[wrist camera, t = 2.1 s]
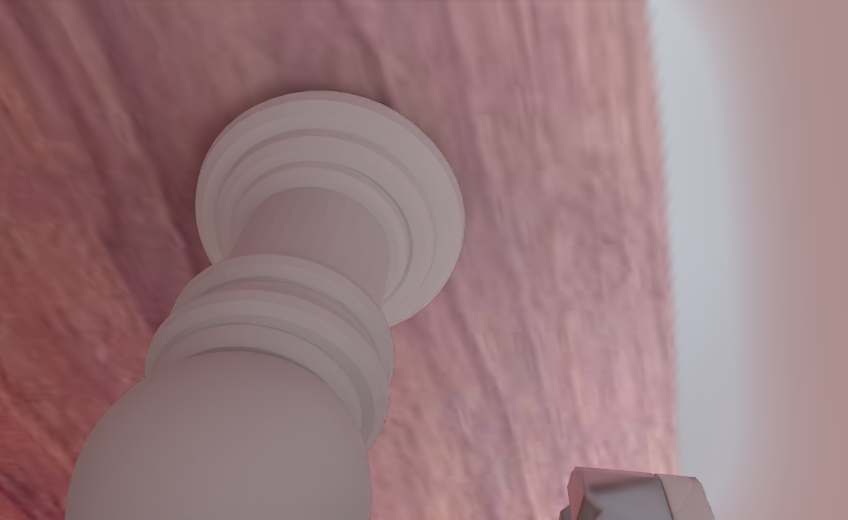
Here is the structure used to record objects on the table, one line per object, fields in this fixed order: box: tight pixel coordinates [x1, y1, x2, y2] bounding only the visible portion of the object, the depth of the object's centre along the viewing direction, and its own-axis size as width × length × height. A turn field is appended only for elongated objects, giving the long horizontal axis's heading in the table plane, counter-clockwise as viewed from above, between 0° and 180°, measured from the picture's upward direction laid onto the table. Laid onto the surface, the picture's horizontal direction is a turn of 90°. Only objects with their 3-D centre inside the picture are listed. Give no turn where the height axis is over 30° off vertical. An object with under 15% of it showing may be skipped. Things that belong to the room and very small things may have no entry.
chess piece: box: [65, 90, 465, 520], centre depth 10 cm, size 5×5×9 cm
